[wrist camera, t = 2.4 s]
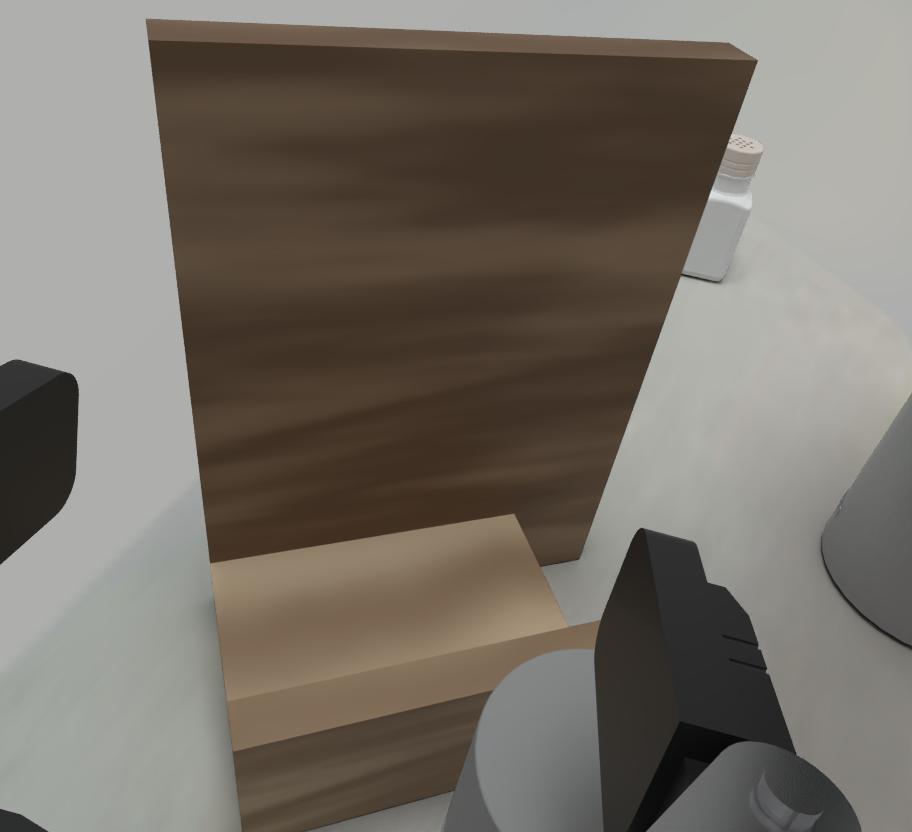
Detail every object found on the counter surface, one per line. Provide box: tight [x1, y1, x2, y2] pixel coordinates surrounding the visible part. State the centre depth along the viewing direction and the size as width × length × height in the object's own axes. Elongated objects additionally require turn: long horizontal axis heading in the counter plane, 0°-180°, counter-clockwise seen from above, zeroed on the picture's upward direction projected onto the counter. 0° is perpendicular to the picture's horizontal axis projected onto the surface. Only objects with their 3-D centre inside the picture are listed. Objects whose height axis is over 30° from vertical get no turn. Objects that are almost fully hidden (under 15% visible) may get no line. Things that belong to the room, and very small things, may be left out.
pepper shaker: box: [682, 134, 764, 281], centre depth 56 cm, size 4×4×10 cm
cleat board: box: [146, 19, 758, 832], centre depth 24 cm, size 10×16×22 cm, turn 108°
